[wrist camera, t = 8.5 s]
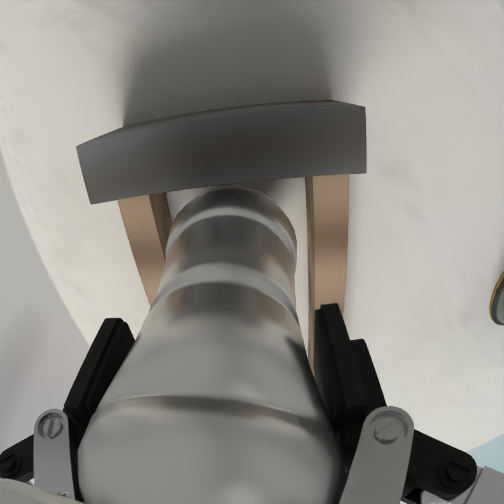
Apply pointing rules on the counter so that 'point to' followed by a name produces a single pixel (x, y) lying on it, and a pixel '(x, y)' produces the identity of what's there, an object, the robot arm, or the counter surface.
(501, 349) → the counter surface
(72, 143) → the counter surface
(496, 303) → the apothecary jar
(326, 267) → the guide track
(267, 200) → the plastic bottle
